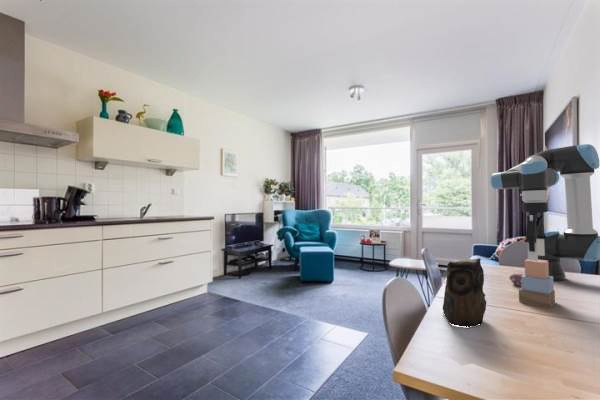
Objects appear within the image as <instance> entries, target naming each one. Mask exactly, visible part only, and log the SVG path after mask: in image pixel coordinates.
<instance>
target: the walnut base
mask: <svg viewBox="0 0 600 400" xmlns="http://www.w3.org/2000/svg"><path fill="white" fill-rule="evenodd" d="M518 302H519V303H522V304H526V305H527V304H528V305H532V306H537V307H543V308H547V309H552V307H553V305H555V303H556V291H555V289H554V290H553V291H552V292H551V293H550V294H544V293H538V292H533V291H527V290H522V286H520V288H519V289H518Z"/></svg>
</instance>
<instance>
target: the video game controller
mask: <svg viewBox="0 0 600 400" xmlns="http://www.w3.org/2000/svg"><path fill="white" fill-rule="evenodd" d="M524 274H525V273H515V272H514V273H513V274H511V275H509V280H510V281H511V282H512V283H513V284H515V285H516V286H517V287H522V285H521V276H523V275H524Z"/></svg>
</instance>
